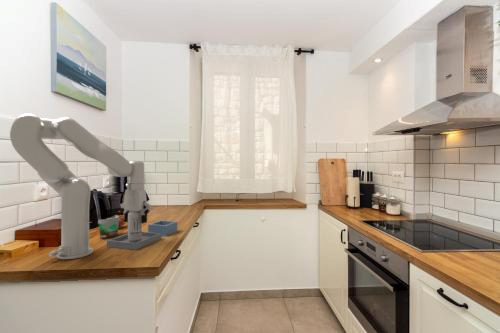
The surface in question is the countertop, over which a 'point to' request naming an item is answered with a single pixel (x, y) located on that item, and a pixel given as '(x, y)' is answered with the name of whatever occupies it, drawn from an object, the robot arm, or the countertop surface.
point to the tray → (125, 244)
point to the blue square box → (163, 227)
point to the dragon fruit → (120, 221)
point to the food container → (108, 227)
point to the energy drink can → (134, 226)
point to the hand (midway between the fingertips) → (135, 222)
